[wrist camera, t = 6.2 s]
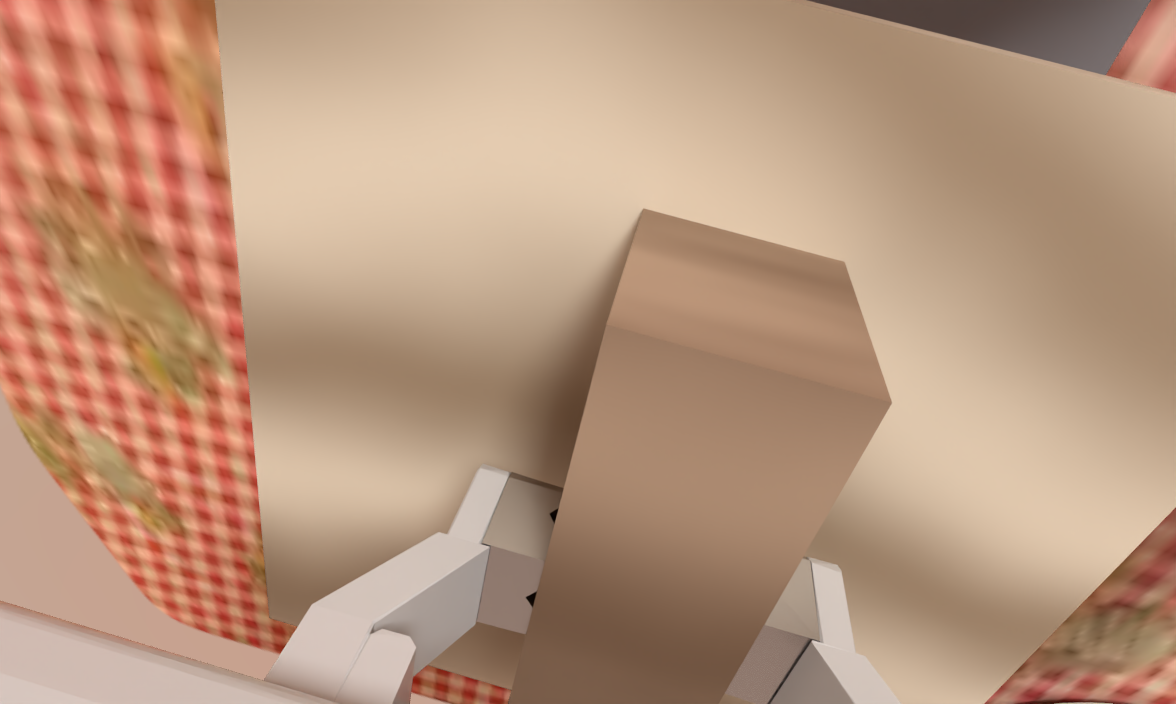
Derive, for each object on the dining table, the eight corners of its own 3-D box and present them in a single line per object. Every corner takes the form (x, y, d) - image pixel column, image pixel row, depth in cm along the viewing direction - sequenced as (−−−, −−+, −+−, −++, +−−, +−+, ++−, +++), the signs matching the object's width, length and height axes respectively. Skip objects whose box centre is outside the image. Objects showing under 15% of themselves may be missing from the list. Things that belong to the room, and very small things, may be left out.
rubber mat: (836, 507, 26) (837, 517, 26) (382, 385, 26) (377, 393, 26) (1146, -14, 16) (1157, -12, 16) (409, -199, 16) (401, -202, 16)
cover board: (880, 760, 18) (921, 987, 14) (290, 586, 18) (174, 758, 14) (1422, 155, 9) (1941, 324, 5) (248, -141, 9) (-73, -187, 6)
